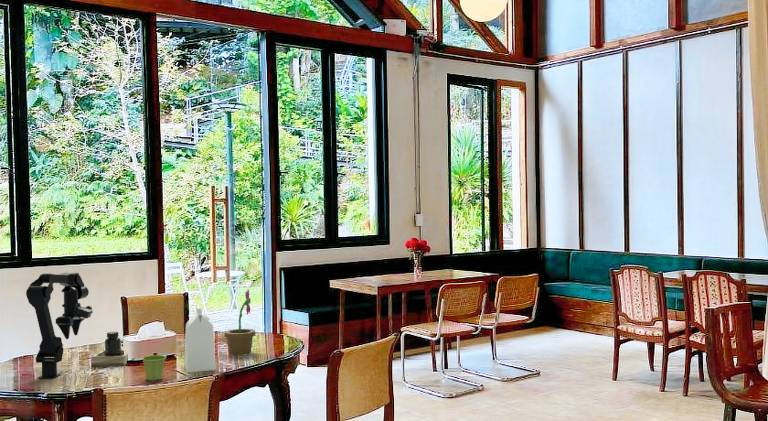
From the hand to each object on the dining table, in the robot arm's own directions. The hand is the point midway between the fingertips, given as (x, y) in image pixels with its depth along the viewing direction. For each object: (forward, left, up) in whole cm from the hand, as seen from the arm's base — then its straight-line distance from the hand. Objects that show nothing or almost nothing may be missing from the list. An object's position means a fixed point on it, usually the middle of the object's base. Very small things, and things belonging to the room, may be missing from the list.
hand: (71, 337), depth 316 cm
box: (+8, -15, -13) cm, 21 cm away
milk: (-7, -57, -13) cm, 59 cm away
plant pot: (-25, -43, -13) cm, 52 cm away
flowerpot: (+23, -69, -13) cm, 74 cm away
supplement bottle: (+8, -15, -12) cm, 21 cm away
